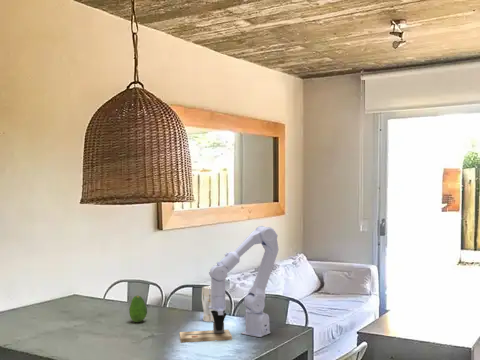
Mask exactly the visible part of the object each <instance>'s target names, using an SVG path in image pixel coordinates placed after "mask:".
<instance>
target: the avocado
mask: <svg viewBox="0 0 480 360" xmlns="http://www.w3.org/2000/svg"><path fill="white" fill-rule="evenodd" d="M147 307H148V306H147V305H146V302H145V299H144V298H143V297H142V296H140V295H139V294H137V295H134V296H133V298H132V299H131V302H130V306H129V310H128V311H129V318H130V319H131V321H132V322H134V323H141V322H142V321H144V320H145V318H146V317H147V314H148V308H147Z"/></svg>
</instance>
